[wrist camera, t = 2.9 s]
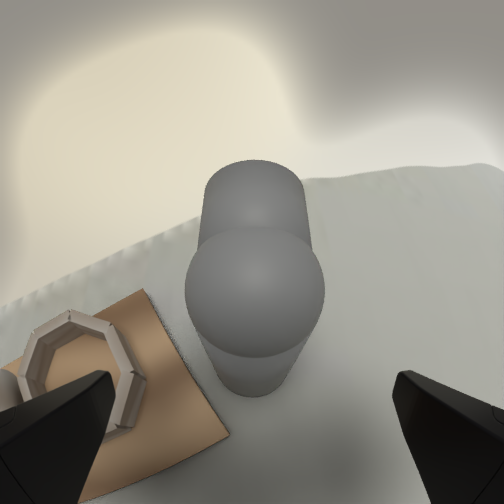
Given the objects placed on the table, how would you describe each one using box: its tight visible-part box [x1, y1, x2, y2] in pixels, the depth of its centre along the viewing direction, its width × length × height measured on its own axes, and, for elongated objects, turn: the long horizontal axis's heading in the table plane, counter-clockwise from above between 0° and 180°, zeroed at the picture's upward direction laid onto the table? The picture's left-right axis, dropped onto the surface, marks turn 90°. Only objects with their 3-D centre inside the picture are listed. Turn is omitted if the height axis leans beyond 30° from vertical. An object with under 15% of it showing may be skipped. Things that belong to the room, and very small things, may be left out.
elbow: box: [185, 160, 325, 397], centre depth 15 cm, size 7×5×14 cm
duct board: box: [0, 288, 230, 503], centre depth 15 cm, size 12×20×6 cm, turn 124°
